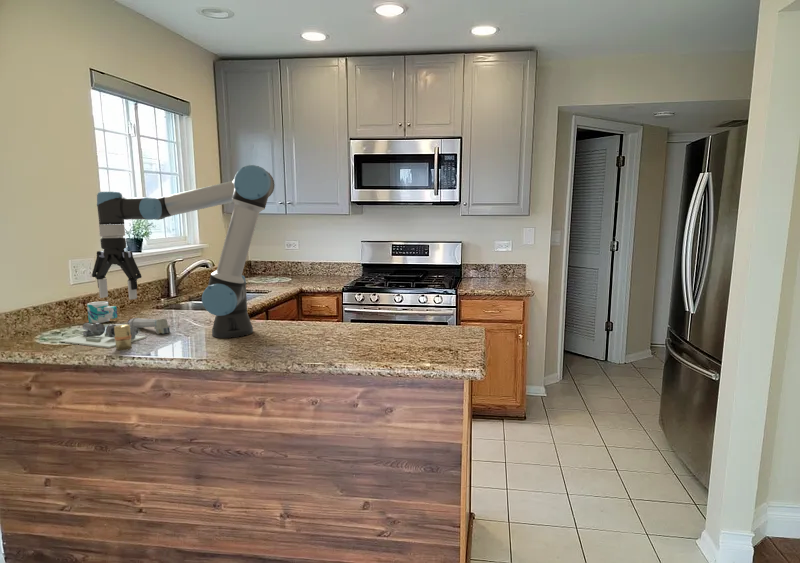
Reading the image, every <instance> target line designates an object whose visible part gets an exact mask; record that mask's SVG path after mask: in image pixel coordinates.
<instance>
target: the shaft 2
mask: <svg viewBox="0 0 800 563" xmlns="http://www.w3.org/2000/svg"><path fill="white" fill-rule="evenodd" d="M114 326H117V325H116V324H115V323H114V324H112V323H111V324H108V325H107V326H106V327H105V333H106V335H107V336H108V337H114V336H115V331H114ZM130 332H131V339H133V338H135V336H138V334H139V328H137V327H130Z"/></svg>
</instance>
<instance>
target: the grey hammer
mask: <svg viewBox="0 0 800 563" xmlns="http://www.w3.org/2000/svg"><path fill="white" fill-rule="evenodd" d="M127 325H130V327H137V328H138V329H139V328H140V329H141V328H154V330H155V332H156V334H157V335H161V334H168V333H170V332H171V329H170V327H171V325H170V324H168V320H167V318H166V317H164V318H158V319H156V318H139V317H134V318H131V319H129V320H128V321H127Z"/></svg>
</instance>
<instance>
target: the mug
mask: <svg viewBox="0 0 800 563" xmlns="http://www.w3.org/2000/svg"><path fill="white" fill-rule="evenodd" d="M86 308H87V318H88V323H90V324H95V323H100V324H103V323H106V322H110V319H116V318H118V308H117V306H115V305H114V306H112V305H111V306H109V301H103V300H102V301H92V302H88V303H87V304H86Z"/></svg>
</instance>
